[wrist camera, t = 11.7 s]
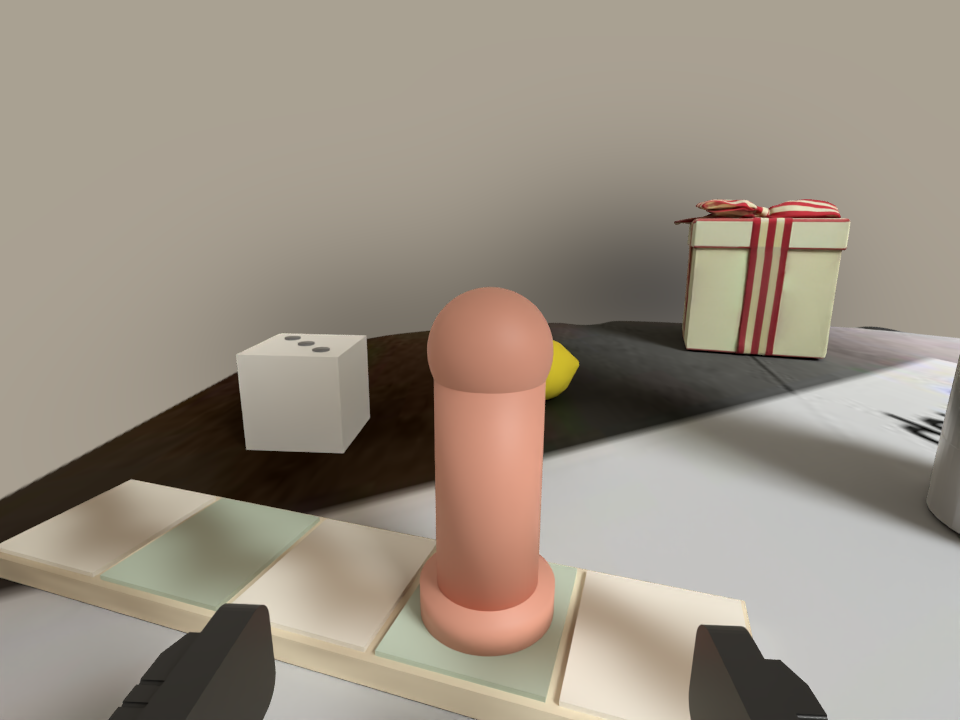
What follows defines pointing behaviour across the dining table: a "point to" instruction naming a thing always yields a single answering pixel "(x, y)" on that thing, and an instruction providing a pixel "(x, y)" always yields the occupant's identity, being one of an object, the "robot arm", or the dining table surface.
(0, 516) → the dining table surface
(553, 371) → the lemon
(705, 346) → the gift box
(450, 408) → the pawn
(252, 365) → the die
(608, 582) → the board
